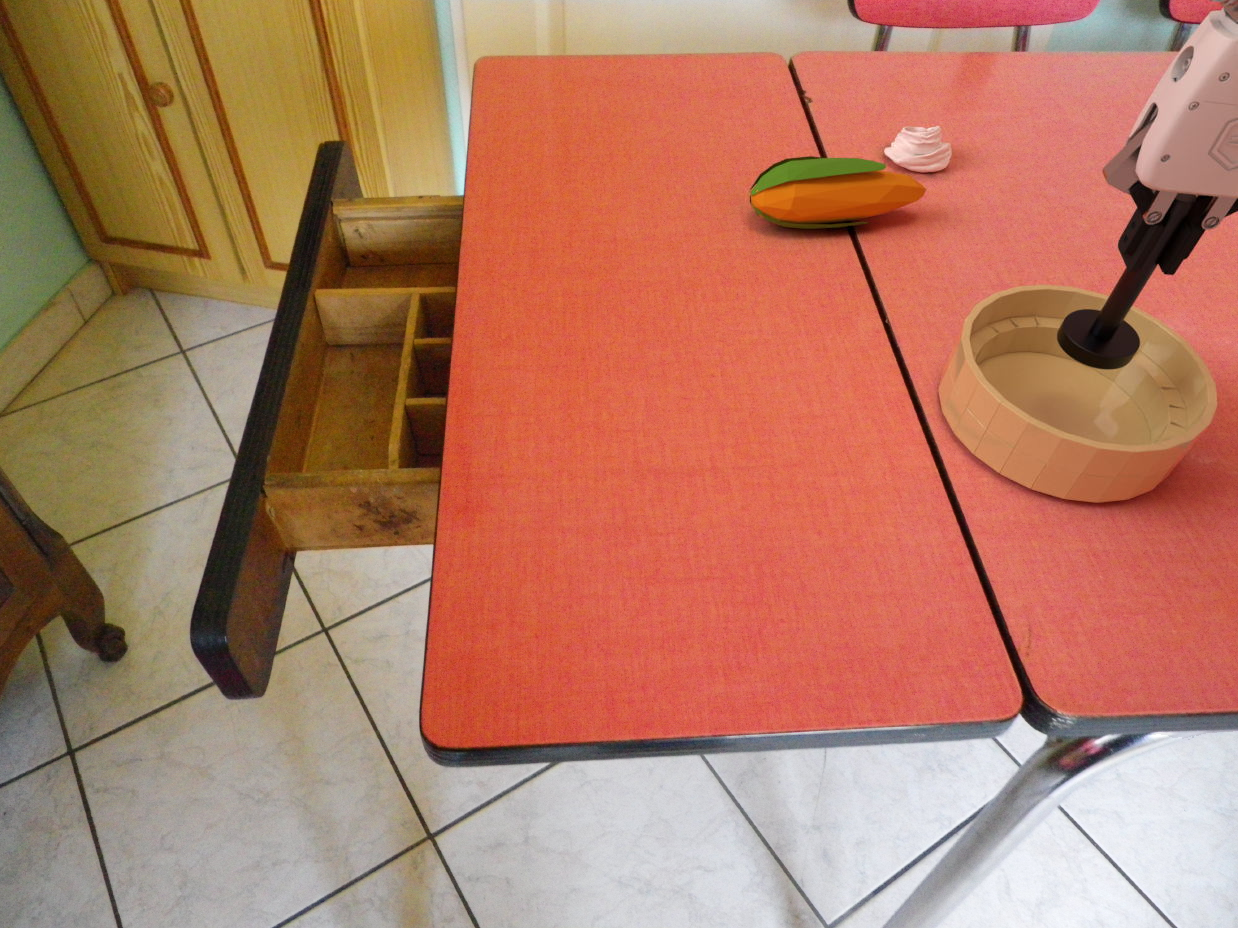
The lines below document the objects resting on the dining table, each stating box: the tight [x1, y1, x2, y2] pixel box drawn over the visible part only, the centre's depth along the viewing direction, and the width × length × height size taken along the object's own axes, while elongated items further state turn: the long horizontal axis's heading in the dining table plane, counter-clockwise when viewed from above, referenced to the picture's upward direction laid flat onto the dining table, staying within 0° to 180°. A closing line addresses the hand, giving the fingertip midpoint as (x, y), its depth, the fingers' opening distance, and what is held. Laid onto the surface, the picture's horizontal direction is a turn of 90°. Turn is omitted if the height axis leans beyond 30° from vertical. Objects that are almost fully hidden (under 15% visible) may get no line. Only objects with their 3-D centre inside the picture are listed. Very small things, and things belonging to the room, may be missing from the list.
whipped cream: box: [883, 125, 953, 174], centre depth 104 cm, size 8×7×5 cm
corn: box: [749, 155, 927, 230], centre depth 94 cm, size 7×8×20 cm
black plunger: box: [1057, 193, 1198, 370], centre depth 65 cm, size 6×6×14 cm
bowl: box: [938, 284, 1219, 504], centre depth 74 cm, size 20×20×7 cm
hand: (1145, 260), depth 64 cm, fingers closed on black plunger
